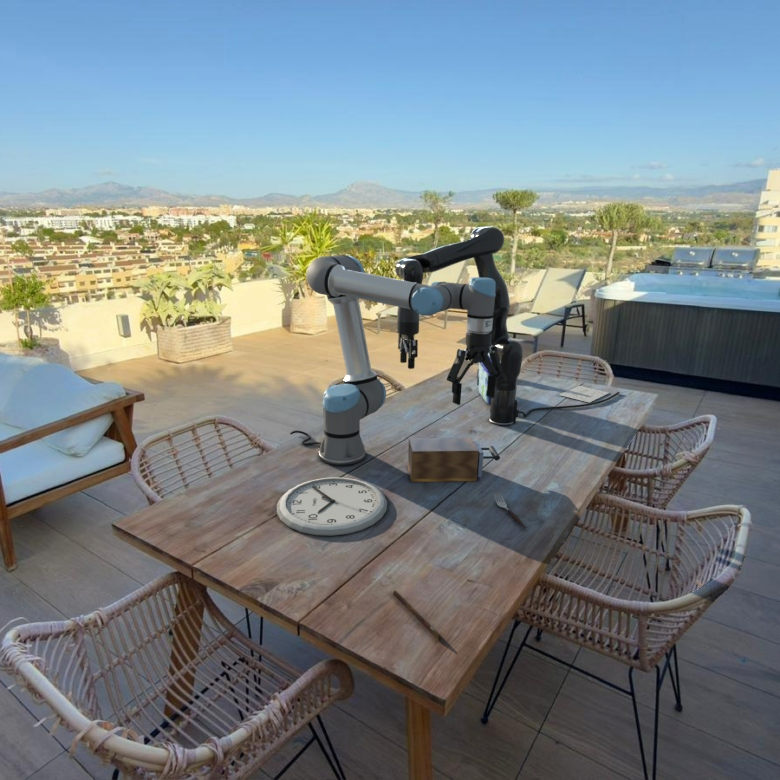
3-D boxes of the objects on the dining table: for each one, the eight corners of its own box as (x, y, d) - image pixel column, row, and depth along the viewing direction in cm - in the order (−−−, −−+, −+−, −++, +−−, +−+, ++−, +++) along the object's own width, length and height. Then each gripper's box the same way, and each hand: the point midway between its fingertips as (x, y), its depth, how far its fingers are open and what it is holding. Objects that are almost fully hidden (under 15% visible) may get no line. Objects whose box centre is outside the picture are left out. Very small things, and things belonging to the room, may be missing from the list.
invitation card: (579, 385, 255) (609, 392, 245) (579, 386, 255) (609, 393, 245) (558, 394, 241) (589, 402, 231) (558, 395, 241) (589, 402, 231)
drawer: (491, 464, 167) (493, 440, 165) (499, 477, 159) (501, 452, 156) (417, 465, 166) (417, 441, 163) (420, 478, 157) (421, 453, 155)
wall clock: (392, 527, 129) (268, 531, 127) (391, 533, 130) (269, 537, 127) (383, 473, 158) (282, 475, 155) (383, 478, 158) (282, 480, 156)
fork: (520, 530, 132) (521, 523, 132) (492, 499, 147) (492, 493, 146) (529, 529, 133) (530, 522, 132) (500, 498, 147) (501, 492, 147)
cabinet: (469, 466, 168) (471, 437, 165) (476, 481, 158) (478, 450, 155) (407, 466, 166) (408, 438, 163) (411, 481, 157) (412, 451, 154)
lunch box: (475, 390, 246) (478, 346, 240) (498, 390, 246) (501, 347, 240) (484, 408, 221) (487, 360, 215) (509, 409, 221) (513, 360, 215)
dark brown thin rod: (392, 594, 108) (393, 590, 108) (394, 593, 109) (394, 589, 108) (438, 640, 96) (438, 636, 96) (440, 639, 97) (440, 635, 96)
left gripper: (454, 337, 144) (449, 410, 150) (518, 330, 157) (512, 397, 163) (437, 332, 150) (433, 402, 156) (501, 326, 163) (495, 390, 169)
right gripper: (425, 322, 172) (424, 370, 177) (411, 315, 185) (410, 360, 190) (404, 323, 170) (403, 371, 175) (391, 316, 183) (391, 361, 188)
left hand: (473, 400), depth 160 cm, fingers open, 13 cm apart
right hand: (407, 365), depth 183 cm, fingers open, 8 cm apart
